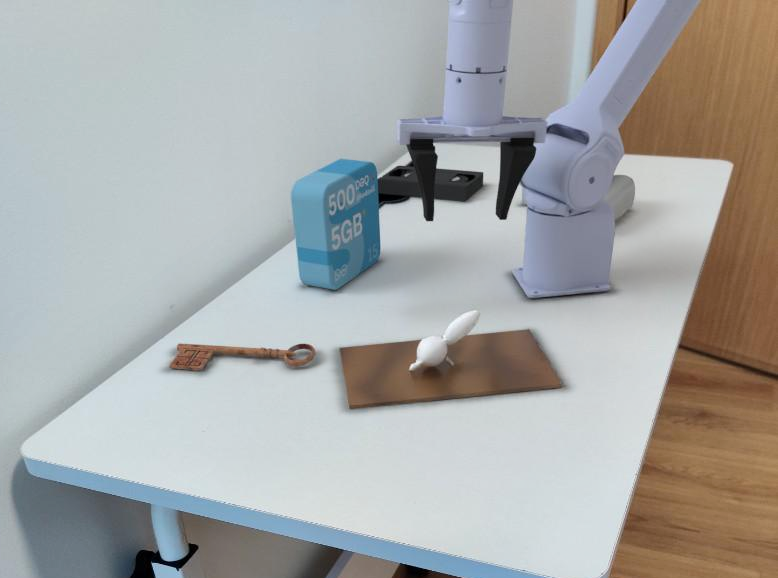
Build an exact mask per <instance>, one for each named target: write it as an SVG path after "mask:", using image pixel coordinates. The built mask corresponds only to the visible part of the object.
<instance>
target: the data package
mask: <svg viewBox="0 0 778 578" xmlns="http://www.w3.org/2000/svg"><path fill="white" fill-rule="evenodd" d="M290 201H291V202H290V203H291V212H292V222H293V230H294V239H295V248H296V258H297V267H298V275H299V280H300V281H301V283H302V284H304V285H306V286H312V287H317V288H322V289H328V290H333V291H337V290H338V289H340V288H341V287H343V286H344V285H346V284H348V283H349V282H350V281H351V280H353V279H354V278H356V277H357V276H358V275H360V274H362V273H363V272H364V271H366V270H367V269H368V268H370V267H372V266H373V265H374V264H375V263H377V261H378V260H379V258H380V255H381V249H382V248H381V247H382V246H381V245H382V244H381V226H380V225H381V224H380V205H379V203H380V202H379V193H378V170H377V166H376V164H375V163H374V162H373V161H366V160H356V159H346V158H339V159H337V160H335V161H333V162H331V163H329V164H326V165H325V166H322V167H321V168H319V169H316V170H314V171H313V172H311V173H309V174H307V175H305V176H303V177H301V178H299V179H298V180H296V181H294V183H293V185H292V187H291V192H290Z"/></svg>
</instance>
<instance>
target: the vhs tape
mask: <svg viewBox="0 0 778 578" xmlns="http://www.w3.org/2000/svg"><path fill="white" fill-rule="evenodd" d="M377 179H378V194H380V195H381V194H382V195H392V196H403V197H413V198H415V197H416V198H422V196H421V190H420V186H419V182H418V178H417V174H416V171H415V168H414V166H411V165H397V166H395V167H393V168H392V169H391V170H389V171H388V172H386V173H385V174H383V175H382V176H379V177H377ZM483 187H484V172H483V171H474V170H462V169H448V168H437V167H436V175H435V185H434V200H435V199H436V200H444V201H445V200H446V201H456V202H465V203H466V202H467V201H468V200H469V199H470V198H472V197H473V196H474V195H475V194H476V193H477V192H479V190H481V189H482V188H483Z"/></svg>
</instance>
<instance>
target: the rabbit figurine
mask: <svg viewBox="0 0 778 578" xmlns="http://www.w3.org/2000/svg"><path fill="white" fill-rule="evenodd" d="M480 316H481V311H480V310H478V309H475V310H470V311H467V312H464V313H462V314H461V315H460V316H458V317H456V318H455V319H454V320H453V321H452V322H451V323H450V324H448V326H447V327H446V328H445V331H444V332H443V335H442V337H441V336H439V335H430V336H427V337H424V338H422V339H420V340H421V342H420V343H419V345H418V348H417V360H416V363H414V364H411V366H410V368H409V370H410V371H415V370H416V369H417V368H419V367H420V366H421V365H424V366H429V367H431V366H436V365H439V364H440V363H441V362H442V361H443V360H444V358H445V357H446V354H447V345H448V346H449V345H452V344H454V343H456V342H457V341H458V340H460V339H461V338H463V337H465V336H466V335H469V333H470V332H471V331H472V330H473V329H474V327H475V326H477V323H478V321H479V318H480ZM446 360H447V361H448V362H449V363H450V364H452V365H453V364H454V363H453V362H452V361H451V360H450V359H449V358H448V357H447V359H446Z"/></svg>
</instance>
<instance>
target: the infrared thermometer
mask: <svg viewBox="0 0 778 578" xmlns="http://www.w3.org/2000/svg"><path fill="white" fill-rule="evenodd" d="M521 188H522V189H521V201H522V202H521V203H522V205H523V206H527V201H526V200H525V199H524V194H525V189H524V188H523V187H522V186H521ZM635 196H636V186H635V181H634V179H633V178H632V177H631V176H628V175H626V174H614V175H613V179H612V182H611V185H610V188H609V190H608V192H607V194H606V195H605V197H604V198H603V199H602V200H601V201H608V202H609V203H610V204H611V206H612V209H613V212H614V218H615V221H616V220H618V219H620V218H621V217H622V216H624V214H626V212H627V211H629V210H630V209H631V208H632V207H633V205H634V201H635V198H636V197H635Z"/></svg>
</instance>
